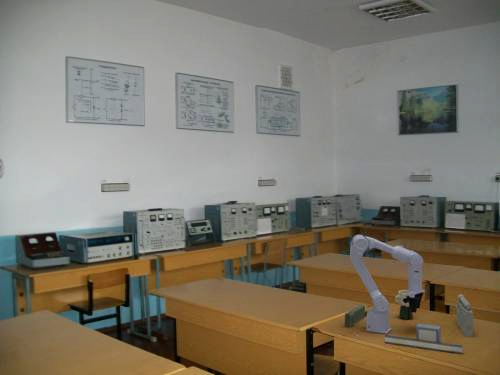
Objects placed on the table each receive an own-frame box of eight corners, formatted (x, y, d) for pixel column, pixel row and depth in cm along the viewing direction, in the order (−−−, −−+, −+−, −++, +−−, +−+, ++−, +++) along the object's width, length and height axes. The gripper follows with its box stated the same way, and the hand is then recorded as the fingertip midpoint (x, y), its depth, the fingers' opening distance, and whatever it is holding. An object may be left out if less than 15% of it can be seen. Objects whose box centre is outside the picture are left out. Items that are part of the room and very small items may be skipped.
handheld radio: (343, 327, 241) (363, 314, 262) (350, 328, 239) (370, 315, 260) (343, 312, 240) (364, 301, 261) (350, 314, 239) (370, 302, 259)
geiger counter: (475, 305, 223) (464, 291, 248) (460, 304, 224) (450, 291, 249) (475, 337, 224) (463, 320, 248) (459, 336, 225) (449, 320, 249)
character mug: (398, 320, 249) (398, 293, 249) (392, 316, 256) (392, 290, 256) (420, 319, 250) (420, 292, 250) (413, 315, 258) (413, 289, 257)
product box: (438, 346, 213) (438, 329, 212) (416, 343, 217) (416, 326, 217) (440, 343, 217) (440, 326, 216) (418, 340, 221) (418, 323, 221)
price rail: (384, 343, 217) (384, 336, 217) (386, 341, 219) (385, 334, 219) (462, 354, 203) (462, 346, 202) (462, 352, 204) (462, 345, 204)
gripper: (421, 283, 224) (421, 315, 224) (427, 277, 236) (427, 307, 237) (404, 282, 227) (404, 313, 228) (411, 276, 240) (411, 305, 240)
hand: (415, 310), depth 232 cm, fingers open, 7 cm apart
